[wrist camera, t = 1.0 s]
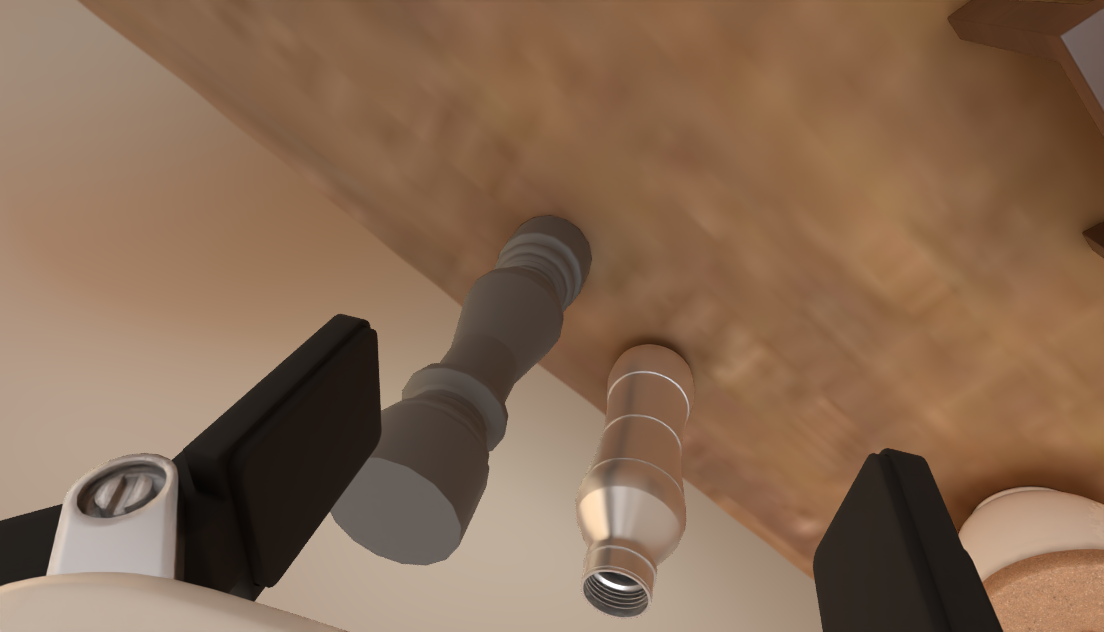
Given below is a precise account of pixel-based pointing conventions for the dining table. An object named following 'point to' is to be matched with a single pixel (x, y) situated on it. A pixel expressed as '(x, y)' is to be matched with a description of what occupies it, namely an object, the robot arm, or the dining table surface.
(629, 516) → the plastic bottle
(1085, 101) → the toy table
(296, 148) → the dining table surface
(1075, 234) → the dining table surface
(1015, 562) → the lidded bowl
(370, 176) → the dining table surface
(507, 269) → the candle holder
